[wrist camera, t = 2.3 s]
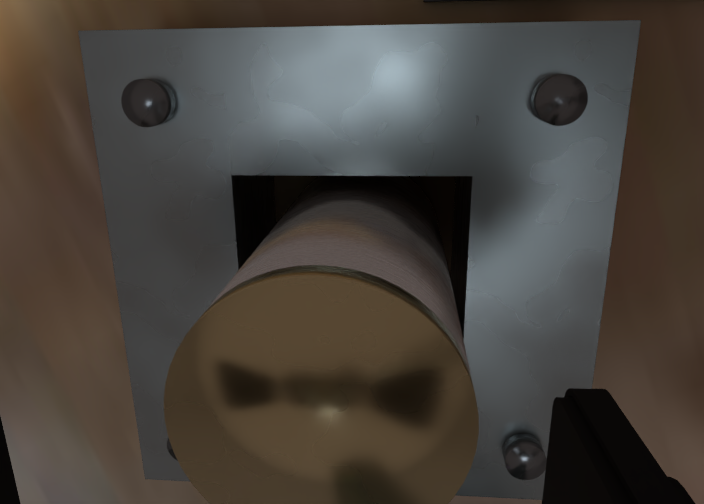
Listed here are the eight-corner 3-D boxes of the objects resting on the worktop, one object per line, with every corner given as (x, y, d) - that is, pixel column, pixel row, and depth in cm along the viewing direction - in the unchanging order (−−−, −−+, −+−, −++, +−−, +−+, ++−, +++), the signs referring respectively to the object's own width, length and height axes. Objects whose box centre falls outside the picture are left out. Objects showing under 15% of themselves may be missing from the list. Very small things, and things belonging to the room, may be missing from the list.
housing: (579, 32, 18) (651, 17, 13) (540, 410, 23) (582, 516, 17) (157, 39, 20) (65, 29, 14) (197, 396, 24) (137, 491, 18)
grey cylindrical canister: (442, 162, 20) (488, 280, 9) (437, 310, 22) (470, 559, 11) (285, 162, 20) (145, 273, 9) (291, 306, 22) (180, 542, 11)
